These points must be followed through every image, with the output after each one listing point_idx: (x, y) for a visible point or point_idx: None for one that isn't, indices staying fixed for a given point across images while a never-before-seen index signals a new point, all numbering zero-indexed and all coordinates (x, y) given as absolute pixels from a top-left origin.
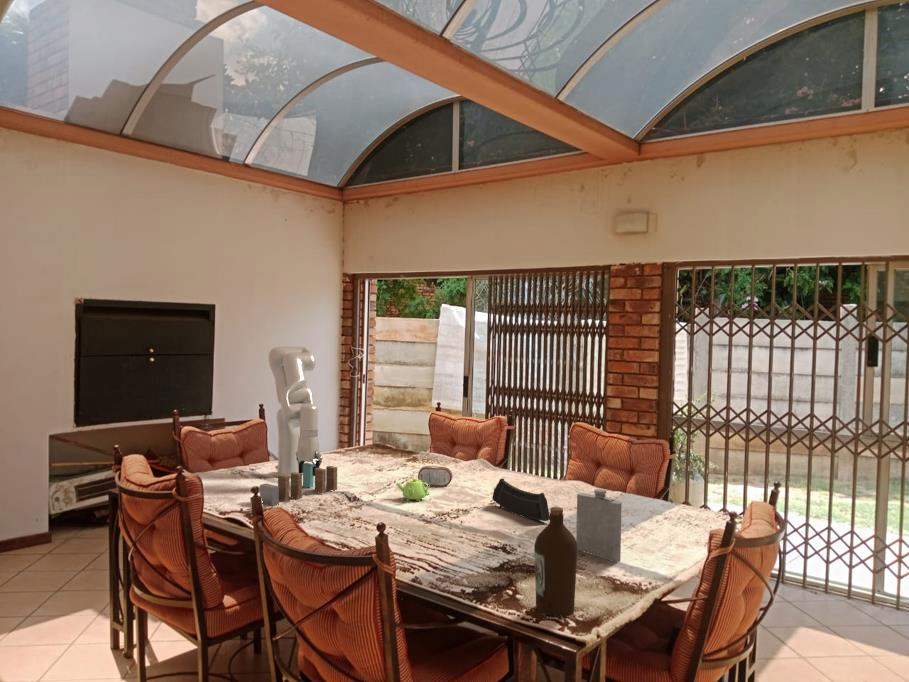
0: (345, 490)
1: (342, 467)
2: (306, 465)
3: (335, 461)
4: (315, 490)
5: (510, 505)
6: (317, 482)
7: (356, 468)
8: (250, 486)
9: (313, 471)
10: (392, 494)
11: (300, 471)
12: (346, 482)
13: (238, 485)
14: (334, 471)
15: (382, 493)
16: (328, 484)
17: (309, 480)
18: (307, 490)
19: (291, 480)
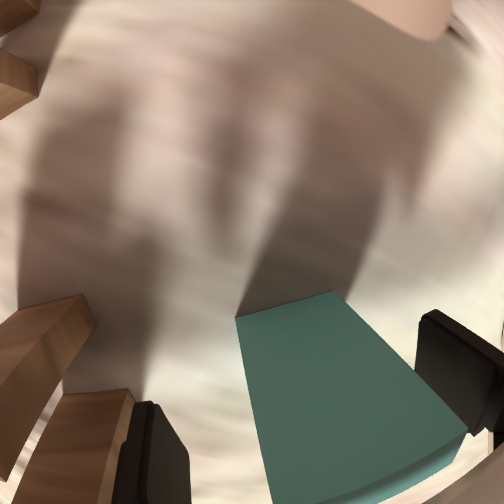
0: None
1: (457, 470)
2: (380, 457)
3: None
4: (67, 302)
5: None
6: (13, 341)
7: (418, 499)
8: (471, 25)
9: (127, 445)
10: (9, 480)
11: (430, 335)
12: (262, 495)
13: (493, 14)
14: (18, 499)
15: (20, 477)
16: (93, 420)
17: (251, 353)
18: (169, 270)
19: None
